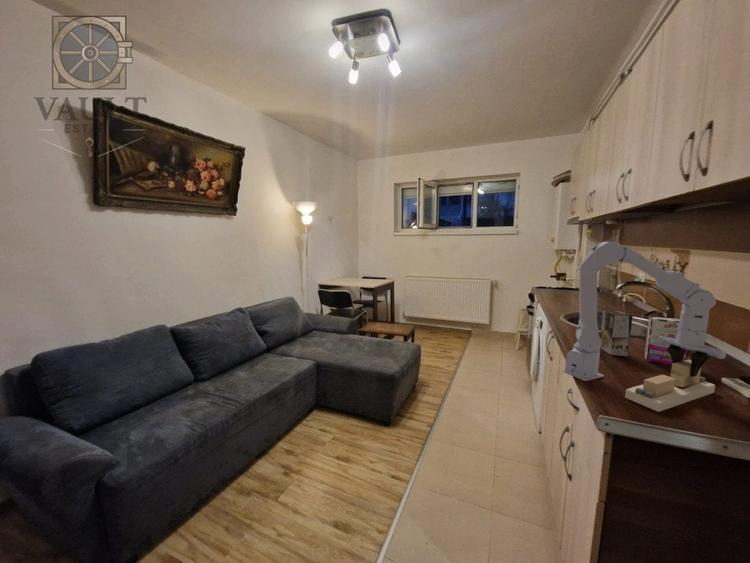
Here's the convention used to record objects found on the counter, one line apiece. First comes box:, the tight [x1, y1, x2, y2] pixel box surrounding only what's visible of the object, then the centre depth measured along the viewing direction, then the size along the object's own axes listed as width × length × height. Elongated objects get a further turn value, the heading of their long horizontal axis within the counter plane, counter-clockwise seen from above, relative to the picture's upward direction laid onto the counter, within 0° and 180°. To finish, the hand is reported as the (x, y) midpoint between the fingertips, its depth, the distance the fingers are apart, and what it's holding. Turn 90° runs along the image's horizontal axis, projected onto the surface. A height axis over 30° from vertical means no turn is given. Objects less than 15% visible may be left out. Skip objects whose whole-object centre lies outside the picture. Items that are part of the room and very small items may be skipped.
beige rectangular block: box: [669, 359, 702, 389], centre depth 93 cm, size 9×3×6 cm, turn 112°
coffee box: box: [599, 309, 634, 357], centre depth 125 cm, size 9×6×16 cm
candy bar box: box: [644, 316, 690, 366], centre depth 114 cm, size 11×5×16 cm, turn 58°
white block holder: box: [624, 374, 716, 413], centre depth 91 cm, size 28×8×6 cm, turn 112°
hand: (685, 373), depth 93 cm, fingers closed on beige rectangular block, 3 cm apart
